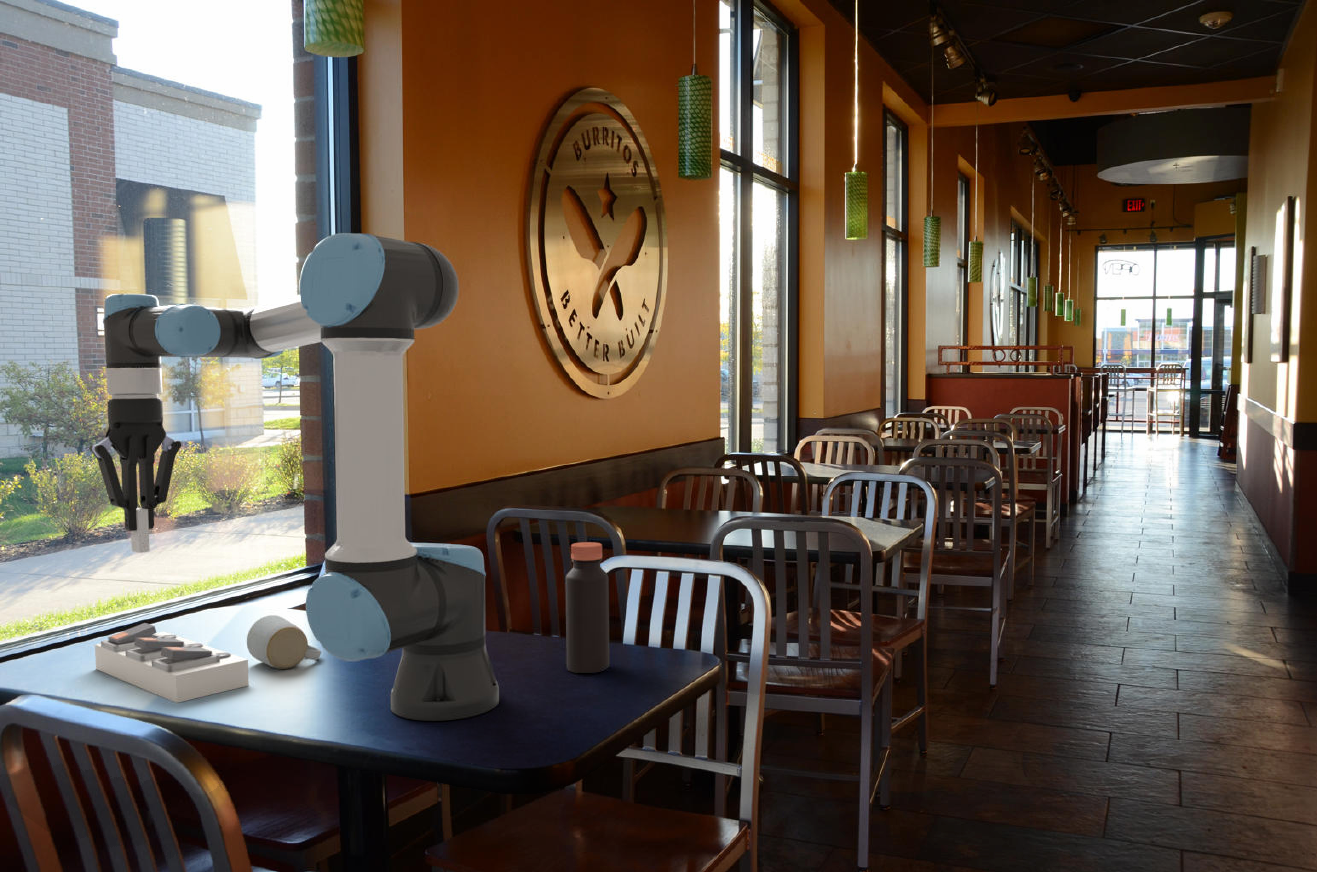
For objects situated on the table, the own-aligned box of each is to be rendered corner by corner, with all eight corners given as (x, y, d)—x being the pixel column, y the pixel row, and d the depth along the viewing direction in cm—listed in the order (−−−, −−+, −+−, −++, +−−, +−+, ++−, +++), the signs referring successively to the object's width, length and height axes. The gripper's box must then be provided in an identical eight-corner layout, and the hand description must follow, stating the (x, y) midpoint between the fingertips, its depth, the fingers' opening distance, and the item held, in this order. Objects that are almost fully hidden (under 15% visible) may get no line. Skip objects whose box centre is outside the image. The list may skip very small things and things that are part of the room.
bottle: (608, 674, 165) (607, 547, 164) (565, 675, 165) (563, 548, 164) (610, 662, 172) (608, 540, 170) (568, 663, 172) (566, 541, 170)
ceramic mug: (267, 675, 166) (267, 626, 166) (246, 664, 172) (245, 618, 172) (330, 663, 174) (330, 616, 173) (307, 653, 179) (307, 609, 179)
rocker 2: (210, 659, 159) (212, 650, 159) (171, 659, 155) (173, 650, 155) (199, 655, 161) (201, 646, 162) (160, 655, 157) (162, 646, 157)
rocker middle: (182, 649, 165) (184, 641, 165) (144, 649, 160) (145, 640, 161) (172, 645, 167) (173, 637, 167) (134, 645, 163) (135, 637, 163)
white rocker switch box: (248, 685, 161) (247, 653, 160) (176, 702, 152) (175, 669, 152) (164, 654, 179) (163, 626, 178) (96, 668, 170) (94, 638, 170)
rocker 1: (156, 632, 171) (154, 625, 170) (119, 647, 166) (117, 640, 166) (146, 629, 173) (144, 622, 173) (109, 644, 169) (107, 636, 168)
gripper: (166, 395, 167) (171, 543, 169) (79, 397, 157) (85, 554, 159) (189, 396, 162) (194, 548, 164) (100, 398, 153) (106, 559, 154)
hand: (140, 551), depth 161 cm, fingers closed
